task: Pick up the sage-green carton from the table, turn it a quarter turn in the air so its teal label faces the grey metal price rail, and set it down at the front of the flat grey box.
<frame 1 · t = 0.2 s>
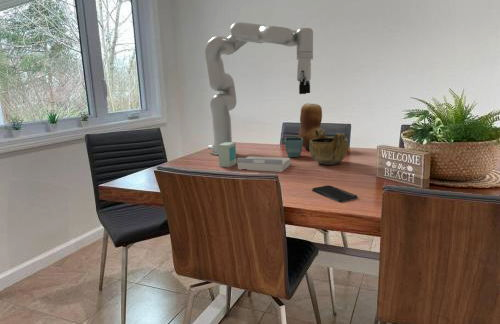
hand: (304, 93, 172), 31 cm above the table, tool pointing down, fingers open, 9 cm apart
phone: (333, 195, 119), on the table
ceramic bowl: (328, 163, 163), on the table
butternut squash: (310, 149, 199), on the table
flower pot: (293, 156, 181), on the table
carton: (232, 165, 166), on the table
flat grey box: (264, 166, 161), on the table
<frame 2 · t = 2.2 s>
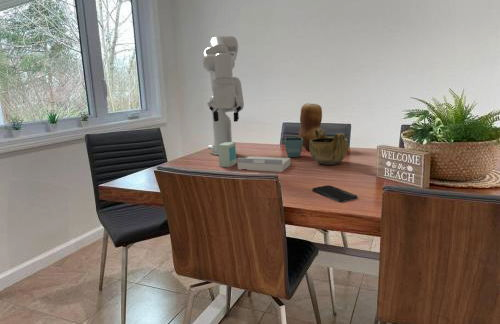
hand: (226, 121, 163), 20 cm above the table, tool pointing down, fingers open, 9 cm apart
nothing on the table moved.
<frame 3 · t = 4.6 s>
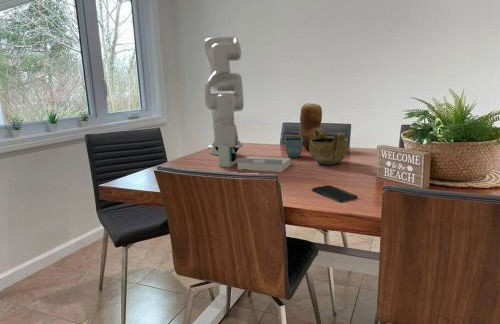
hand: (227, 160, 167), 2 cm above the table, tool pointing down, fingers closed on carton, 5 cm apart
carton: (232, 165, 166), on the table, touching gripper
everything else where it was.
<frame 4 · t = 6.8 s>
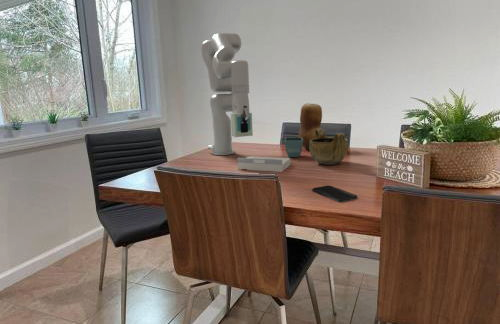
hand: (242, 131, 160), 16 cm above the table, tool pointing down, fingers closed on carton, 5 cm apart
carton: (244, 136, 158), point 14 cm above the table, touching gripper
everything else where it was.
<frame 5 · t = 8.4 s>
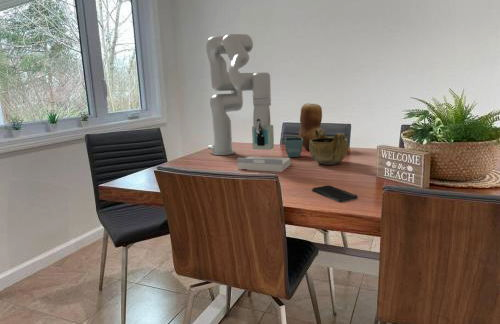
hand: (263, 144, 157), 11 cm above the table, tool pointing down, fingers closed on carton, 5 cm apart
carton: (261, 149, 155), point 9 cm above the table, touching gripper
everything else where it was.
when the fingers open (6 cm above the table, at t = 9.5 s): carton drops 1 cm, resting on flat grey box.
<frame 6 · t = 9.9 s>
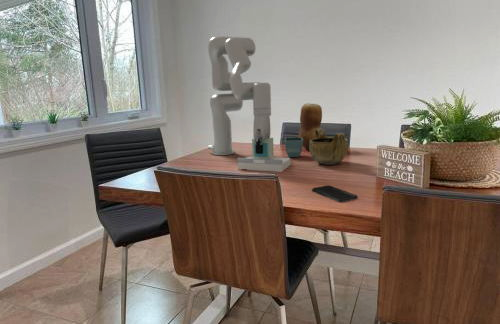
hand: (263, 151, 158), 7 cm above the table, tool pointing down, fingers open, 9 cm apart
carton: (261, 162, 157), point 3 cm above the table, touching flat grey box
everything else where it was.
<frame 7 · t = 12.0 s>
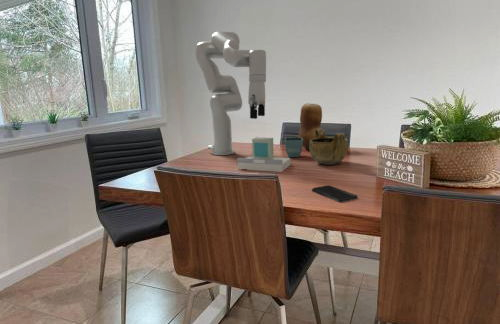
hand: (257, 117, 165), 21 cm above the table, tool pointing down, fingers open, 9 cm apart
nothing on the table moved.
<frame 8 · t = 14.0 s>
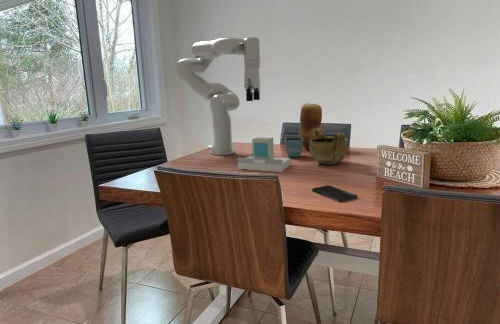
hand: (253, 100, 177), 28 cm above the table, tool pointing down, fingers open, 9 cm apart
nothing on the table moved.
at the end: carton inside the target area on the flat grey box (0.7 cm from its centre), point 3.0 cm above the flat grey box's base; carton tilted 0°; the gripper is holding nothing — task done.
